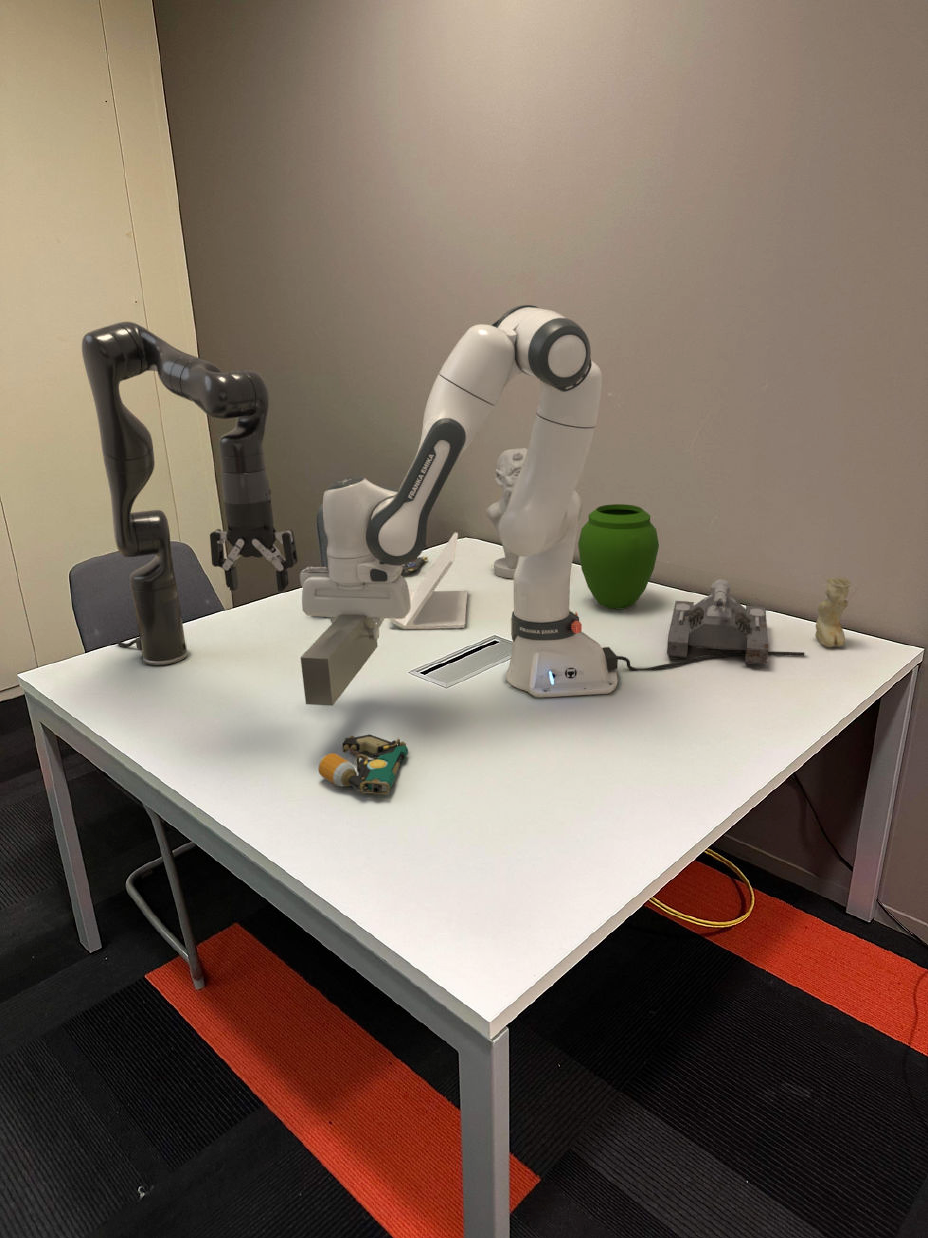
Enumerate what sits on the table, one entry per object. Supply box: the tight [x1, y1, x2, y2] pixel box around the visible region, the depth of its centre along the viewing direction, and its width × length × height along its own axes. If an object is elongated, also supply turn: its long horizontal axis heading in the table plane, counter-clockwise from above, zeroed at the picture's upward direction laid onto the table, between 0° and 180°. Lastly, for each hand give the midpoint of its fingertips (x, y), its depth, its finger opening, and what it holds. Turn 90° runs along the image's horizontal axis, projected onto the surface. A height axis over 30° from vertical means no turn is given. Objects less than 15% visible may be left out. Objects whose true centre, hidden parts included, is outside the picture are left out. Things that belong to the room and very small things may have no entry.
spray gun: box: [317, 733, 409, 795], centre depth 141 cm, size 4×17×15 cm
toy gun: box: [400, 556, 429, 575], centre depth 246 cm, size 3×19×10 cm
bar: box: [300, 614, 378, 707], centre depth 151 cm, size 26×5×8 cm, turn 169°
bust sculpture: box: [485, 447, 528, 579], centre depth 231 cm, size 16×24×35 cm
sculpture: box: [814, 576, 852, 648], centre depth 185 cm, size 6×7×15 cm
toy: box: [666, 578, 770, 666], centre depth 186 cm, size 25×20×15 cm
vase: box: [577, 503, 660, 610], centre depth 210 cm, size 20×20×24 cm
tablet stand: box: [388, 531, 468, 630], centre depth 211 cm, size 18×25×17 cm
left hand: (258, 589), depth 146 cm, fingers open, 8 cm apart
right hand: (359, 637), depth 160 cm, fingers closed on bar, 5 cm apart
